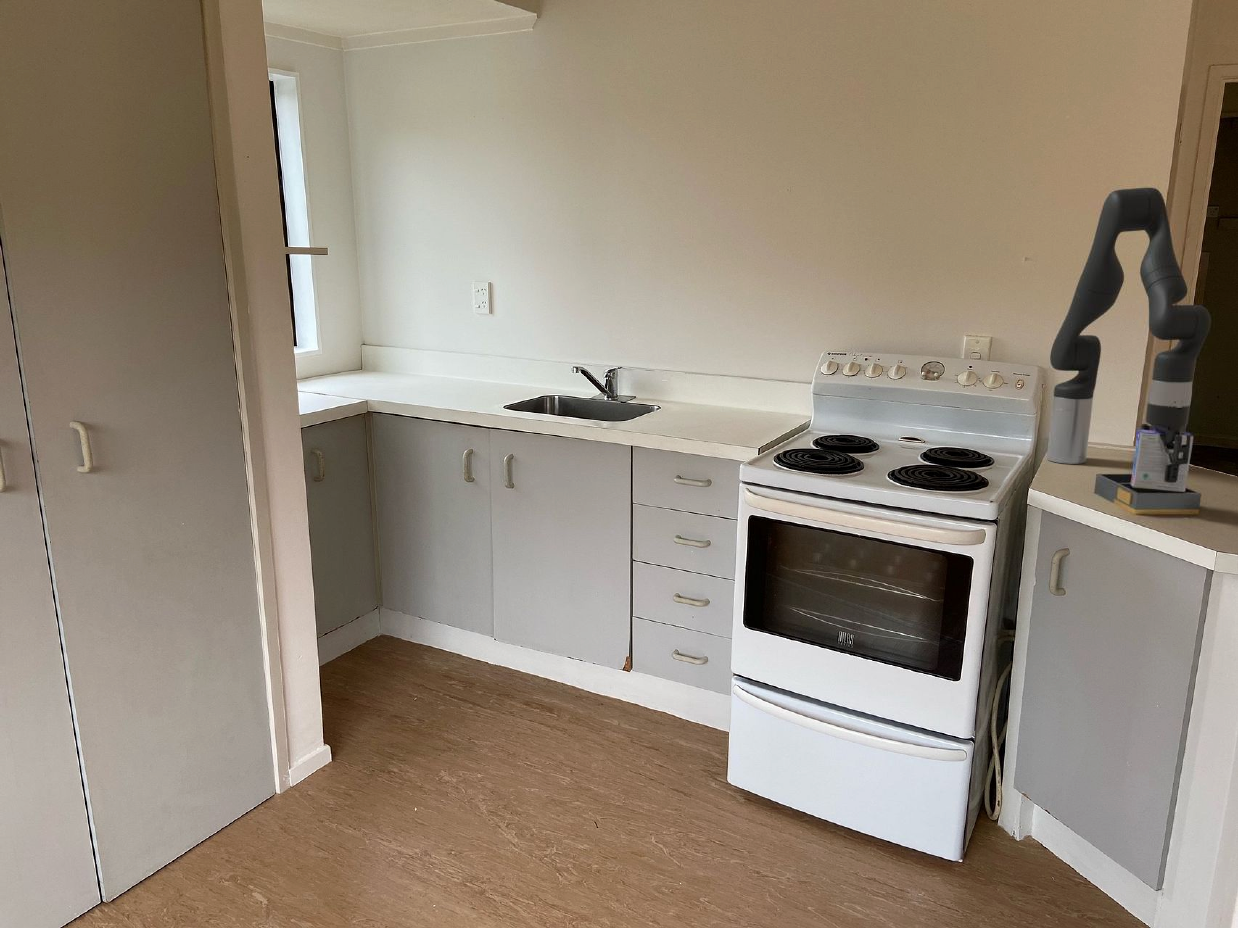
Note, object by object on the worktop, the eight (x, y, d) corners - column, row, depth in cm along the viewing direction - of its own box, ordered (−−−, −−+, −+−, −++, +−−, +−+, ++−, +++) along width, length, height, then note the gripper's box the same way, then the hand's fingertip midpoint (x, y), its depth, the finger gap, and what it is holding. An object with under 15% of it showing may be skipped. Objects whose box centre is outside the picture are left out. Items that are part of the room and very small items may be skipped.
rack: (1092, 492, 195) (1095, 473, 194) (1152, 492, 194) (1154, 473, 193) (1133, 514, 178) (1135, 493, 177) (1198, 514, 177) (1201, 493, 176)
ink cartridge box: (1181, 487, 181) (1192, 421, 178) (1186, 493, 177) (1197, 425, 173) (1128, 482, 185) (1138, 417, 182) (1132, 488, 180) (1141, 421, 177)
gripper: (1132, 396, 184) (1122, 469, 187) (1170, 407, 170) (1159, 485, 174) (1167, 396, 183) (1157, 469, 187) (1209, 407, 169) (1197, 485, 173)
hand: (1158, 477), depth 180 cm, fingers open, 8 cm apart
